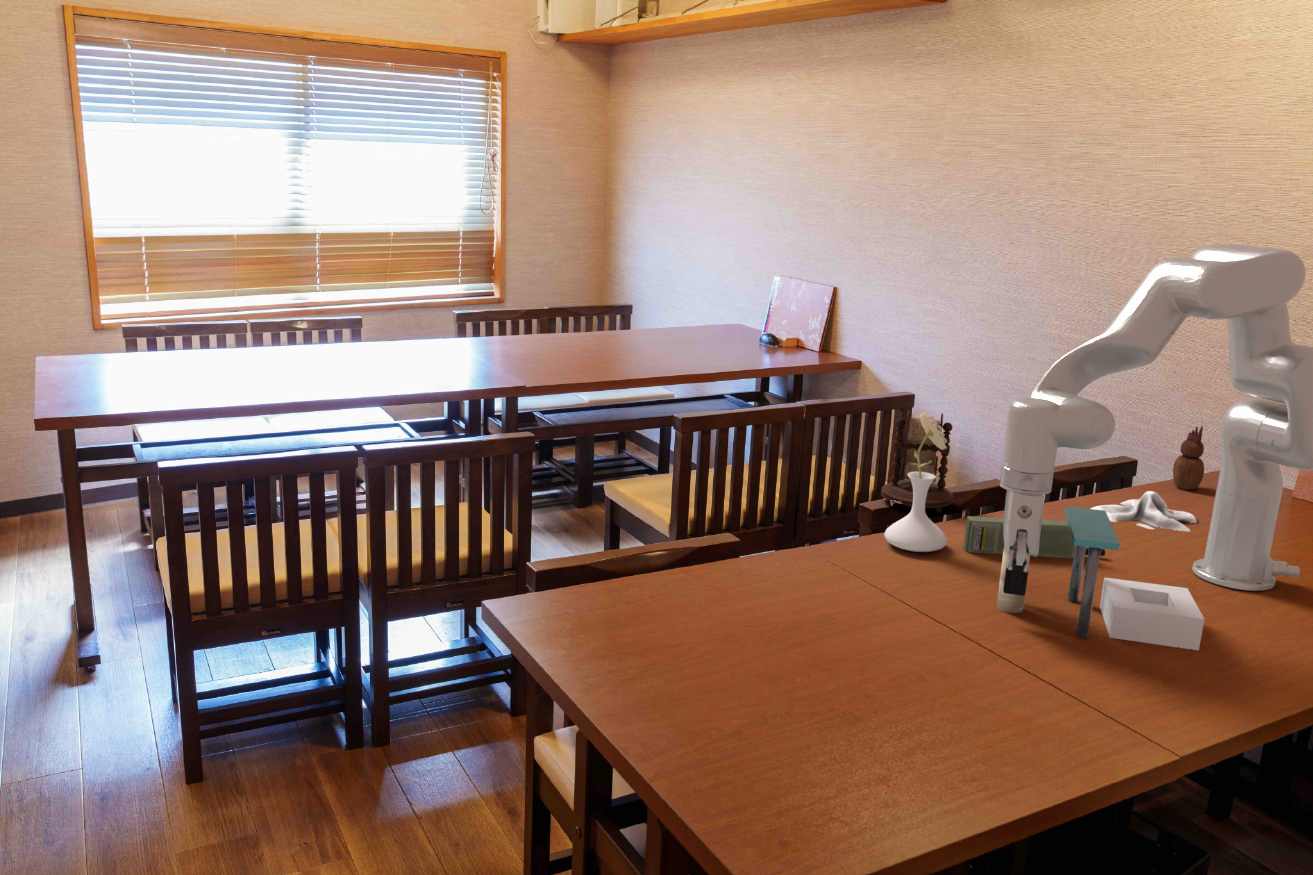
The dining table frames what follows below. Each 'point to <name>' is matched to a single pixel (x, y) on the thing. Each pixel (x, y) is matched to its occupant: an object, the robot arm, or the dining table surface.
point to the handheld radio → (990, 538)
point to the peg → (1009, 601)
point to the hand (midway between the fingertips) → (1012, 582)
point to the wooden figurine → (1190, 462)
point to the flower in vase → (920, 504)
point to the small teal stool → (1095, 534)
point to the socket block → (1151, 613)
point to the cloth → (1148, 513)
